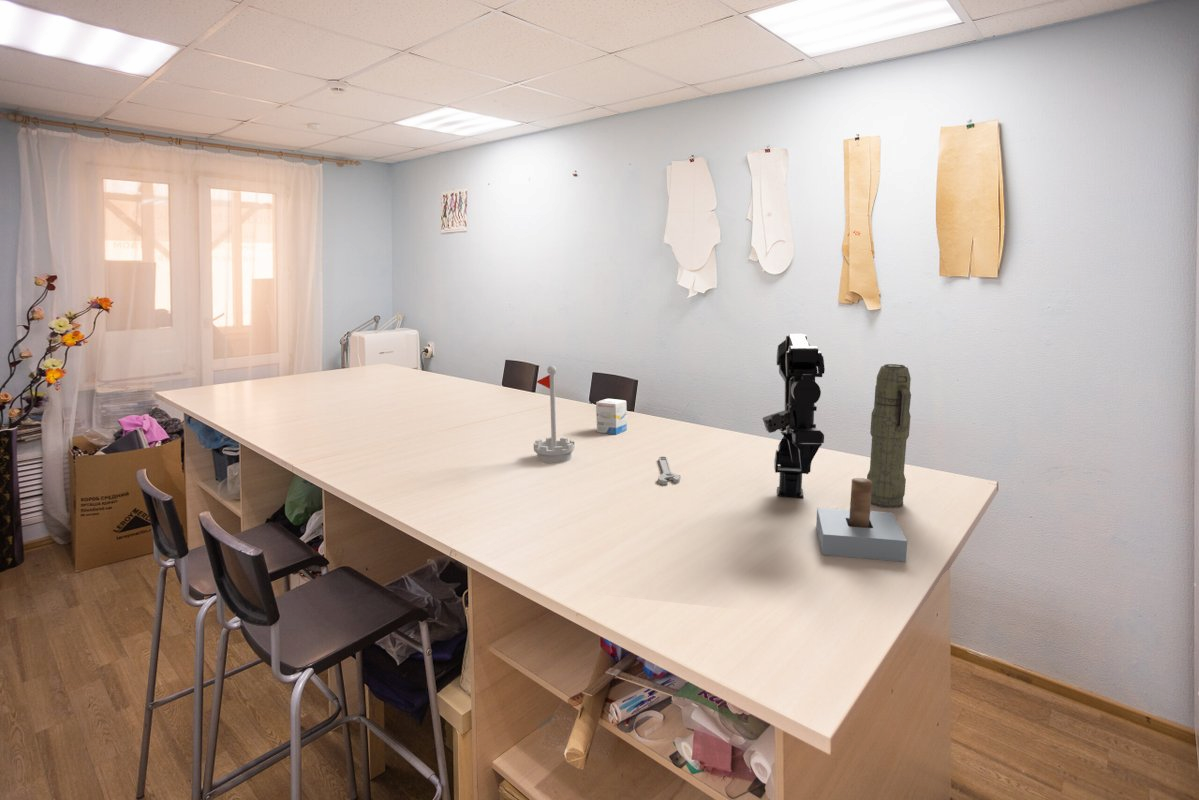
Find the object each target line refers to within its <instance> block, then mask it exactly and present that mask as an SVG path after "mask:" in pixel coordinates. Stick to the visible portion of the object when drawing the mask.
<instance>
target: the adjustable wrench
mask: <svg viewBox="0 0 1199 800" xmlns="http://www.w3.org/2000/svg"><path fill="white" fill-rule="evenodd" d="M658 463H659V466H660V468H661V471H662V473H661V474H660V475H659V476H658V477H657V483H658V484H659V485H664V486H668V482H670V481H672V482H673V483H675V485H677V484H679V483H680V482H681V475H680V474H676V473H673V472H672V471H671V468H670V464H669V461H668V457H667V456H659V457H658Z"/></svg>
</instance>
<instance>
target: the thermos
mask: <svg viewBox="0 0 1199 800" xmlns="http://www.w3.org/2000/svg"><path fill="white" fill-rule="evenodd" d="M911 380H912V378H911V373H910V371H909V367H908V366H905V365H903V364H897V363H896V364H895V363H894V364H893V363H890V364H889V363H888V364H884V365H881V366H880V368H879V371H878V373H877V375H876V382H875V383H876V384H875V389H874V390H875V391H874V404H873V408H872V411H871V418H870V419H871V420H870V435H871V448H870V460H869V461H870V462H869V464H870V465H869V471H868V472H867V474H866V479H869V480H871V481H872V491H871V505H870V506H874V507H879V508H884V509H897V508H898V509H899V508H900V507H903V506H904V496H905V495H906V481H907V480H906V475H905V465H906V463H905V462H906V450H907V440H908V439H909V437H910V430H911V429H910V428H911V427H910V425H911V412H910V408H911V397H912V394H911Z"/></svg>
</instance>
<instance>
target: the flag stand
mask: <svg viewBox="0 0 1199 800" xmlns="http://www.w3.org/2000/svg"><path fill="white" fill-rule="evenodd" d="M546 370H547V374H548V375H546V376H544V377H543V378H541V379H539V380H536V383H537V384H539V385H542V386H544V388H545V387H546V388H548V389H549V397H550V399H549V401H550V402H549V403H550V405H549V406H550V430H551V431H550V434H551V436H550V437H546V438H545V440H544V441H543V440H542V439H537V440H534V442H533V452H535V453H536V459H538V460H537V461H538V462H540V463H544V464H560V463H565V462H569V461H571V459H572V457H573V456H572V453H573V451H575V440H574V439H569V438H568V437H560V438H559V440H557V423H556V422H557V421H556V420H557V418H556V417H557V416H556V389H555V388H556V387H555V386H556V384H555V379H556V378H555V374H556V373H557V368H556V366H555V365H550V366H548V367H547V369H546Z"/></svg>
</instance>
